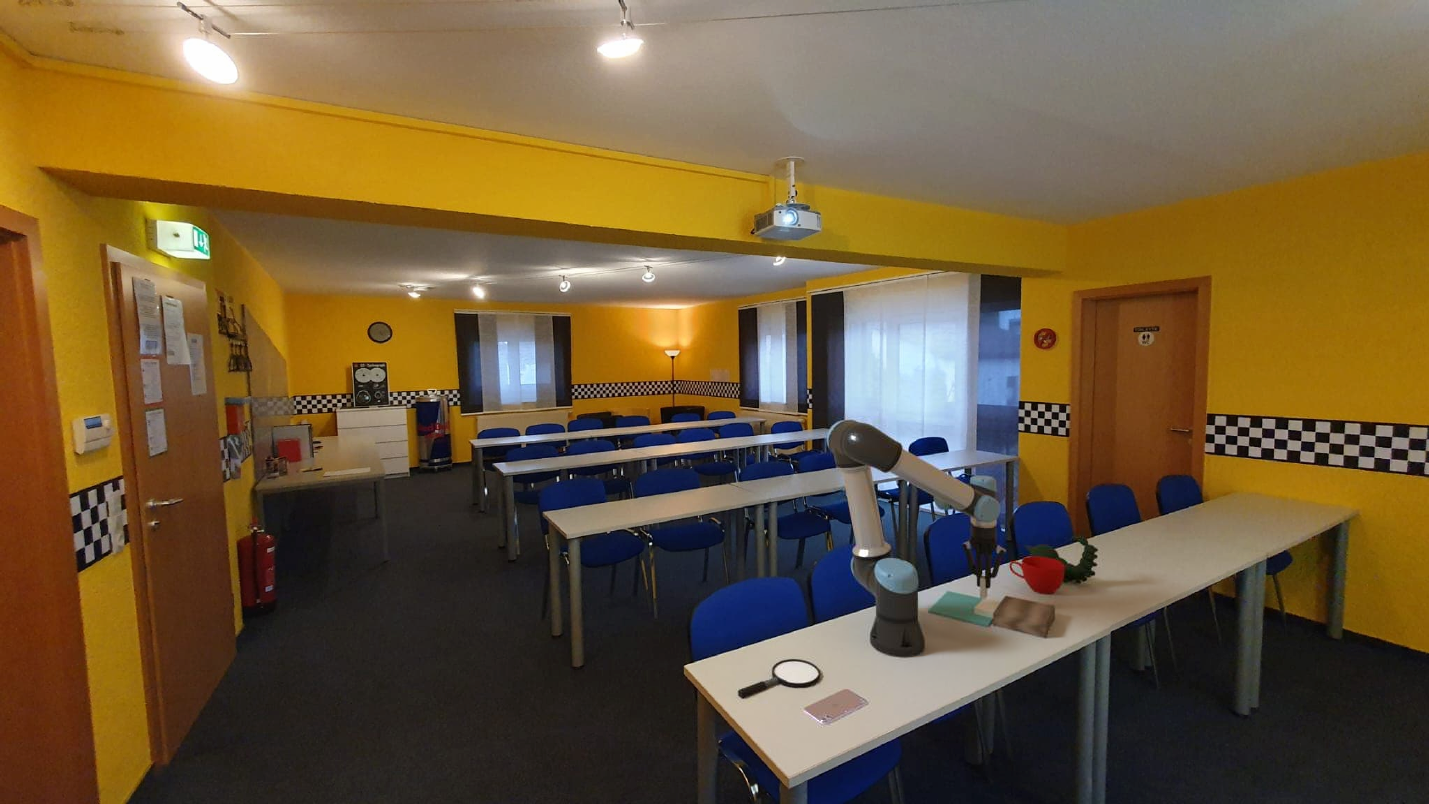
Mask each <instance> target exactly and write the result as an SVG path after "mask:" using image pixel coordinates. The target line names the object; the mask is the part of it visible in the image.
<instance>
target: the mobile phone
mask: <svg viewBox="0 0 1429 804" xmlns="http://www.w3.org/2000/svg"><path fill="white" fill-rule="evenodd" d="M867 705H868V701H867V700H866V699H865V698H863V697H861V696H860V695H858V694H857V693H855V692H853V691H852V690H850V689H847V688H844V689H841V690H839V691H837V692H836V693H833V694H831V695H828V696H826V697H825V698H823V699H820V700H818V701H816V702H814V703H811V704H810V705H807V706H805V707H804V708H803V713H804V714H806V715H807V716H808V717H809V718H811V719H812V720H814V721H815V722H817V723H818V724H820V725H822V726H828V725H830V724H831V723H834V722H836V721H837V720H840V719H841V718H843V717H845V716H847V715H850V714H851V713H853V712H855V711H857V710H859V709H861V708H863V707H865V706H867Z"/></svg>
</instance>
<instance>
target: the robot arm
mask: <svg viewBox="0 0 1429 804" xmlns="http://www.w3.org/2000/svg"><path fill="white" fill-rule="evenodd" d="M826 444H827V448H828V449H829V450H830V452H831V453H833V456H834V461H835V462H834V463H835V467H836V468H837V469H838V470H839V471H840V472H842V477H843V482H844V487H845V493H846V498H847V499H846V500H847V503H848V508H849V514H850V519H851V523H852V529H853V534H854V541H855V546H854V547H853V548H852V555H853V556H852V558H851V561H850V569H851V573H852V574H853V577H854V578H855V580H856V581H857V583H859V584H860V585H861V586H862V587H863V588H865V590H867V591H868V592H869V593H871V594H872V596H874V597H875V617H874V621H873V624H872V626H871V630H870V633H869V642H870V645H871V647H873V649H875V650H876V651H879V652H880V653H882V654H885V655H889V656H893V657H900V658H903V657H904V658H907V657H908V658H909V657H913V656H915V657H916V656H918V655H920V654H922V653H923V652H924V651H925V650H926V640H925V639H926V638H925V635H924V633H923V629H922V627H921V625H920V621H919V578H918V571H917V569H916V568H915V565H913V564H911V563H910V562H908V561H906V560H905V559H904V560H901V559H900V558H895V557H893V552H892V547H891V544H889V543H888V542H886V541H885V537H884V534H883V527H882V521H881V516H880V511H879V505H878V501H877V494H876V491H875V490H876V489H875V484H874V480H873V479H874V478H873V473H872V468H873V469H876V470H879V471H880V472H882V473H883V474H884V473H885V474H887V473H891V474H892V475H895V476H896V477H898V478H900V479H902V480H904V481H906V482H908V483H909V484H911V485H913V486H915V487H917V488H919V489H920V490H922V491H924V492H926V493H927V494H930V495H931V496H933V500H934V501H933V502H934V503H935V506H936V507H937V508H938V509H939V510H941V511H944V510H945V511H950V510H954V511H957V512H959V513H962V514H964V515H967V516H969V517H970V523H971V524H970V537H969V540H968V541H965V542H962V544H961V547H962V549H963V550H964V552H965V556H966V559H967V564H968V569H969V571H970V574H971V575H974V576H976V586H977V587H978V588H979V598H983V599H987V597H988V589H990V588H991V584H992V580H991V579H995V578H996V577H997V576H998V573H999V570H1000V566H1001V562H1002V559H1003V555H1004V554H1006V552H1007V549H1006V548H1005V547H1001V546H1000V545H999V542H998V538H997V537H998V534H997V532H998V531H997V529H998V528H997V524H998V520H997V519H998V518H999V517H1000V514H1001V504H1000V503H999V501H998V499H997V496H998V489H997V488H998V487H997V480H996V479H995V478H994V477H993V476H989V475H973V476H971V477H970V478H969V479H970V480H969V483H965V482H963V481H961V480H960V479H958V478H957V477H956V478H955V476H952V475H950V474H948V473H947V472H945V471H943V470H941V469H940V468H938V467H936V466H934V465H932V463H929V462H927V461H925V460H924V459H922V458H921V457H918V456H917V455H915V454H913V453H911V452H910V451H908V450H905V448H904V446H903V444H902V443H901V442H898V441H897V440H895V439H893V438H892V437H891V436H890V435H888V434H886V433H885V432H883V431H881V429H879V428H877V427H875V426H874V425H872V424H870V423H866V422H860V421H856V420H853V419H843V420H839V421H837V422H835V423H834V424H832V425H831V427H830V428H829V430H828V432H827V434H826ZM972 548H973V550H974V551H975V557H976V558H975V559H974V556H973V551H972ZM995 550H996V553H997V555H996V557H995V561H994V564H993V568H992V554H993V553H994V551H995ZM983 555H984V573H983ZM975 560H976V561H975ZM975 562H976V563H975ZM983 574H984V575H983Z"/></svg>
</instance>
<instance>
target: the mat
mask: <svg viewBox="0 0 1429 804" xmlns="http://www.w3.org/2000/svg"><path fill="white" fill-rule="evenodd" d="M986 599H987V598H986ZM982 600H983V598H980V597H977V596H973V595H968V594H963V593H959V592H955V591H950V590H947V591H946V592H945V593H944V594H943V595H942V596H941V597H940V598H939V599H938V600H937V601H936V602H935V603H934V604H933V605H932V606H931V608H929V609H928V611H927V613H929V614H933V615H937V616H941V617H944V618H949V619H952V620H956V619H957V620H958V621H961V622H965V623H969V624H973V625H978V626H981V627H986V628H989V626H990V625H991V624H992V623H993V618H989V617H985V616H981V615H977V614H974V607H975V606H976V605H977V604H978V603H979V602H981V601H982ZM987 600H989V599H987ZM995 601H996V602H998V601H997V600H995ZM999 602H1000V603H1001V601H999Z"/></svg>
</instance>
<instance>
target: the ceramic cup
mask: <svg viewBox="0 0 1429 804" xmlns="http://www.w3.org/2000/svg"><path fill="white" fill-rule="evenodd" d="M1013 564H1015V565H1018V566H1019V567H1020V569H1021V571H1022V574H1019V572H1016V571H1015V570H1014V568H1013ZM1009 570H1010V571H1011V573H1013V574H1014V575H1015V576H1017V577H1019V578H1021V579H1023V580H1025V582H1026V584H1027V585H1028V586H1029V588H1030V589H1031V590H1032V591H1033V592H1035V593H1037V594H1043V595H1052V594H1054V593H1055V592H1056V591H1057V590H1058V589H1059V588H1060V587H1061V586H1062V583H1063V578H1064V570H1065V567H1064V564H1063V563H1062V562H1060V561H1057V560H1055V559H1051V558H1046V557H1030V556H1026V557H1023V558H1022V559H1021V563H1020V562H1018V561H1016V560H1015V561H1011V562H1009Z"/></svg>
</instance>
